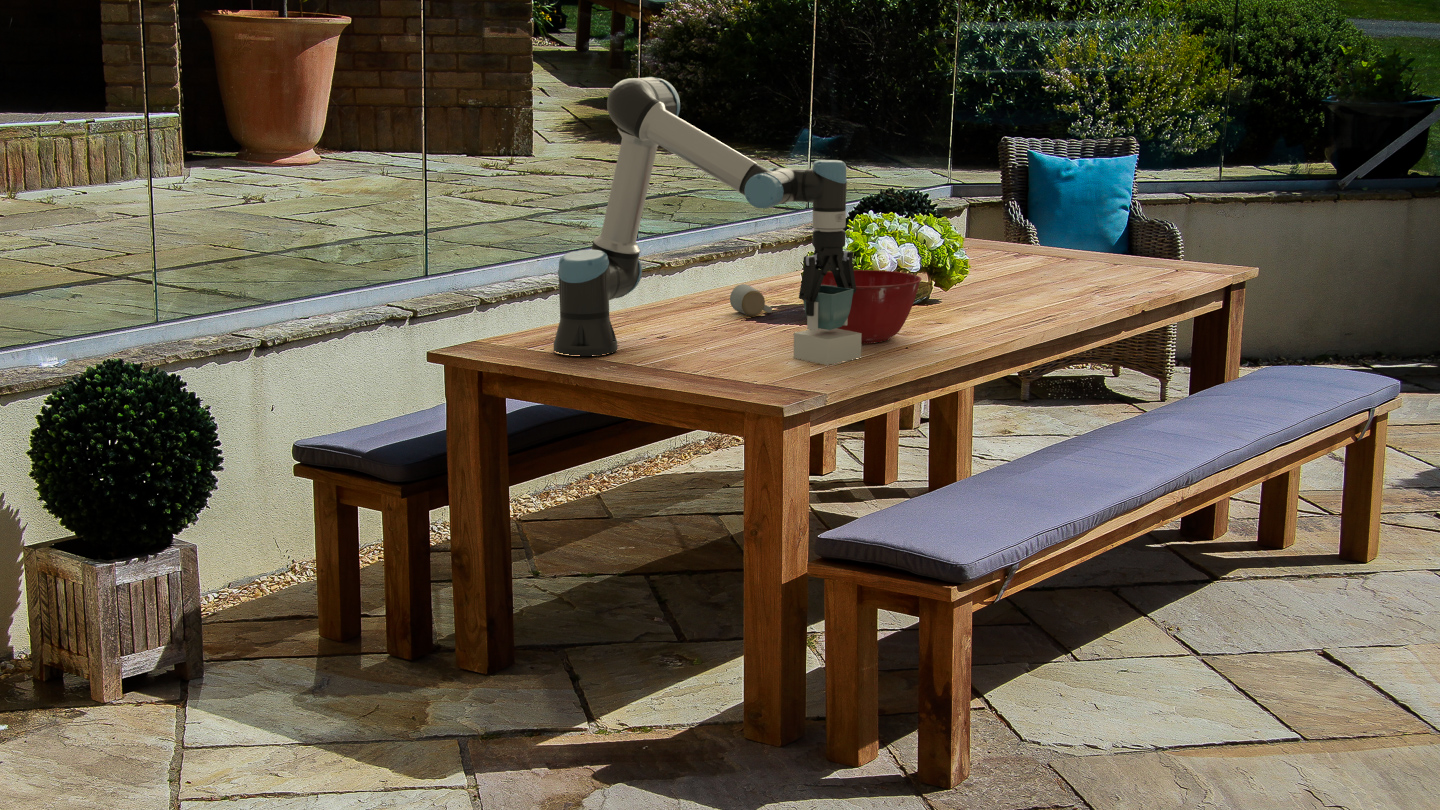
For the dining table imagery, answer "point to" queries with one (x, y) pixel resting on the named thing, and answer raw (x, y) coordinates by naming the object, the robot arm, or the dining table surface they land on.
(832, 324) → the flower pot
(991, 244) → the dining table surface
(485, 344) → the dining table surface
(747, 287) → the ceramic mug
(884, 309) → the mixing bowl
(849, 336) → the stone block
